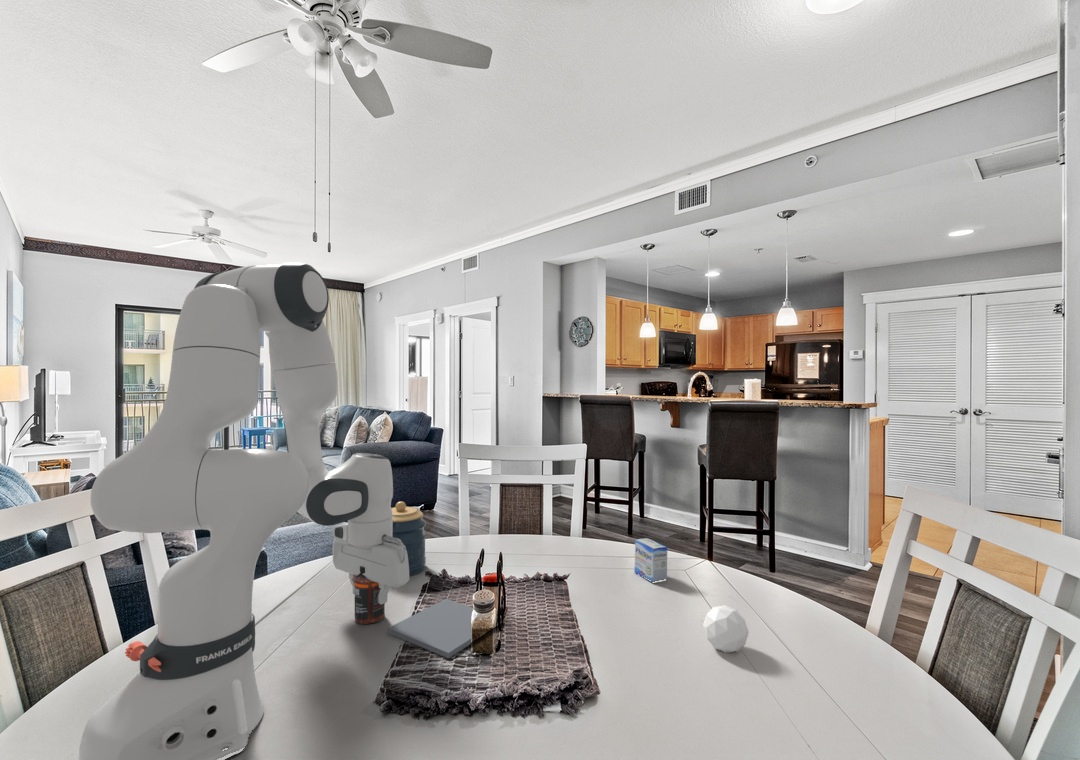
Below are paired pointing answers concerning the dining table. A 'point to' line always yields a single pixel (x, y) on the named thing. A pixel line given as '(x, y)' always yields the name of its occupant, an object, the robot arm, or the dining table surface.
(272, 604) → the dining table surface
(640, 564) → the medicine box
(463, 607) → the mat
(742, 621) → the geometric ball
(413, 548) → the canister
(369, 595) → the supplement bottle
